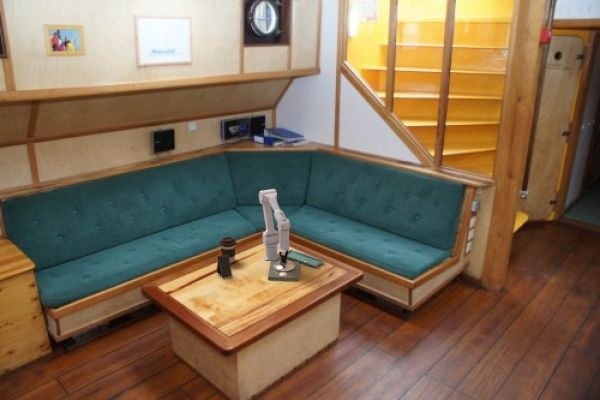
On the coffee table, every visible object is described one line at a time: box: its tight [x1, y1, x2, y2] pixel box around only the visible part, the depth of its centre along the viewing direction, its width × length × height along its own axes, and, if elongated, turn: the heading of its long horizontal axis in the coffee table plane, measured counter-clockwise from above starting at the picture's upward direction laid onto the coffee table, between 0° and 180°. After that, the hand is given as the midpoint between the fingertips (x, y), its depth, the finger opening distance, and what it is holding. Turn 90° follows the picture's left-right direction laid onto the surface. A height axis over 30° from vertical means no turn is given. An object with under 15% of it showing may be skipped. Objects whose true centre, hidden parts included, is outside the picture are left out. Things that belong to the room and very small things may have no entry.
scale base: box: [267, 260, 300, 282], centre depth 290 cm, size 20×17×2 cm
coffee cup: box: [219, 236, 237, 264], centre depth 300 cm, size 10×10×15 cm
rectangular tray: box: [287, 249, 324, 269], centre depth 305 cm, size 26×9×2 cm, turn 53°
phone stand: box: [216, 254, 233, 278], centre depth 286 cm, size 9×6×12 cm, turn 32°
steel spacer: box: [278, 254, 288, 265], centre depth 290 cm, size 4×4×6 cm
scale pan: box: [273, 259, 295, 272], centre depth 292 cm, size 13×13×1 cm
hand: (284, 260), depth 291 cm, fingers closed on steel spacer, 4 cm apart
